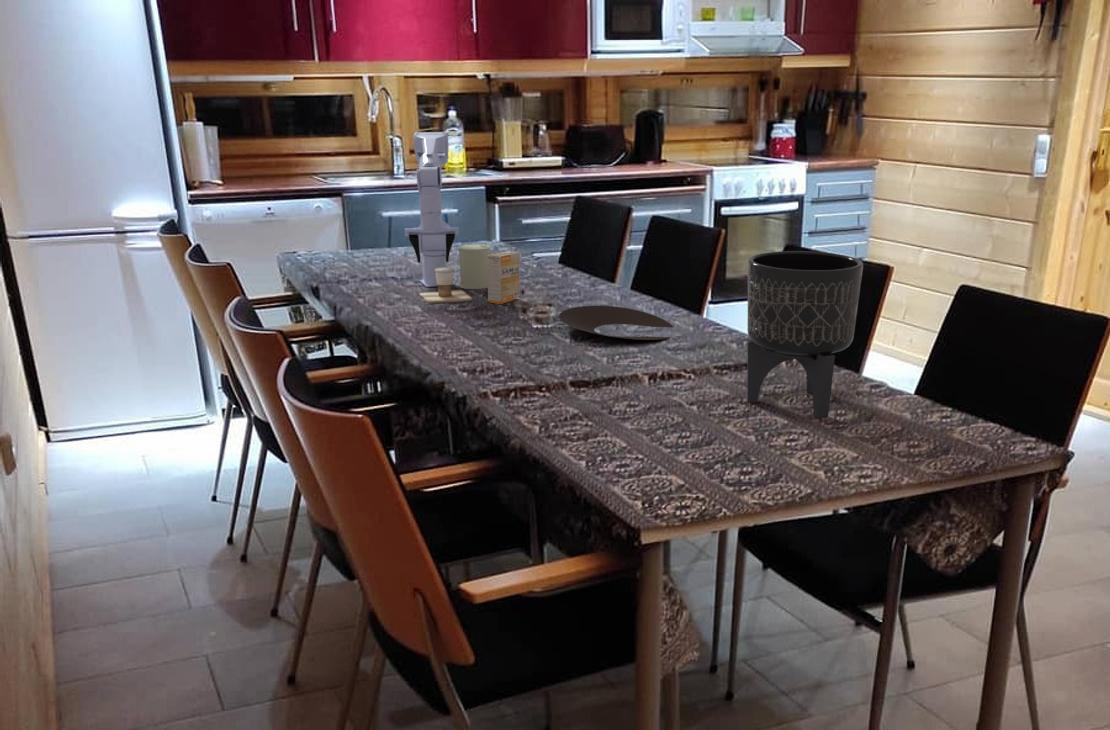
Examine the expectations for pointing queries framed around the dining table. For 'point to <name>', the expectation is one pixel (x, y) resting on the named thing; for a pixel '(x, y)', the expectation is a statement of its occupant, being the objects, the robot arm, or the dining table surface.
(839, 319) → the planter
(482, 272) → the can
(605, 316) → the plate
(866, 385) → the dining table surface
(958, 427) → the dining table surface
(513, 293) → the supplement box
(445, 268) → the cap
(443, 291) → the square wooden board
